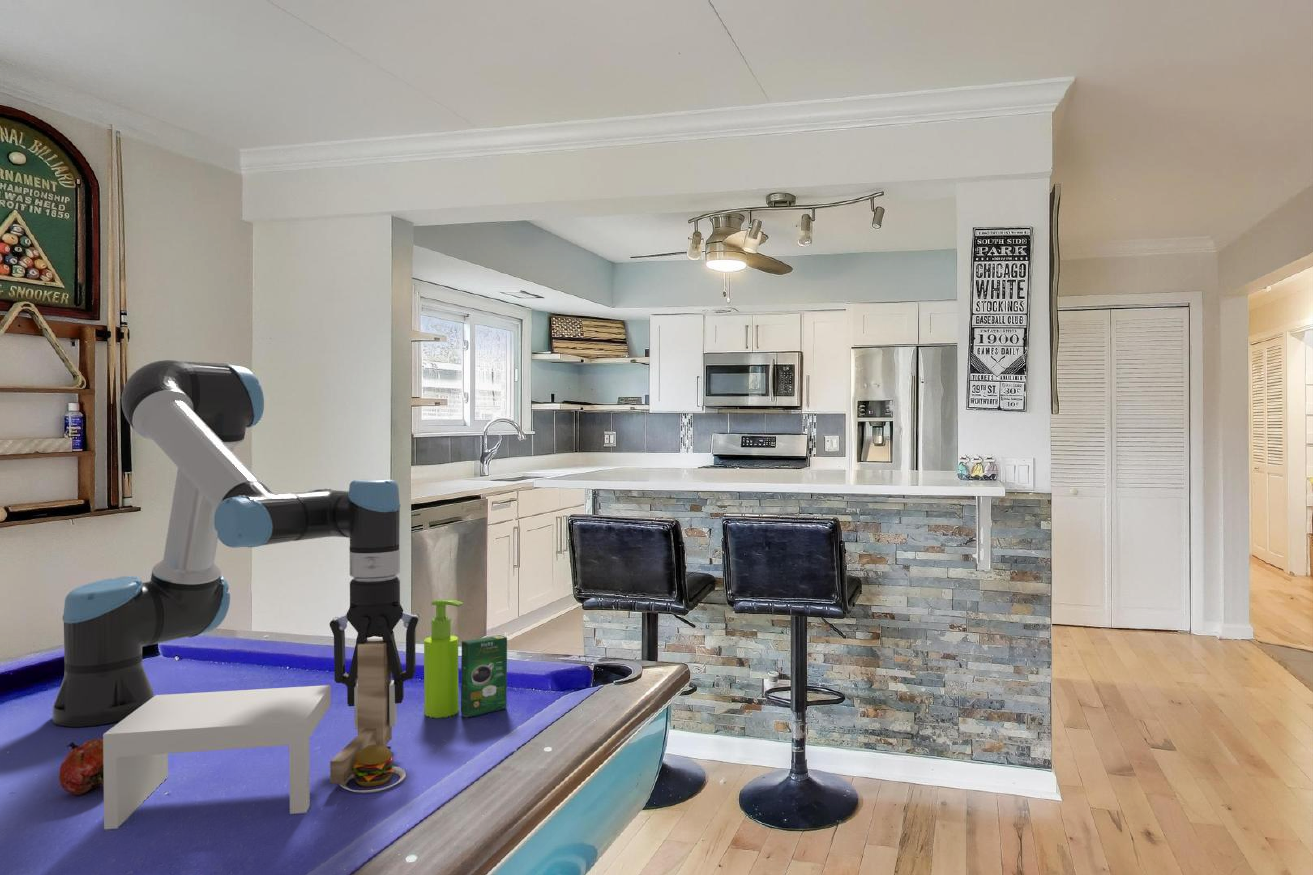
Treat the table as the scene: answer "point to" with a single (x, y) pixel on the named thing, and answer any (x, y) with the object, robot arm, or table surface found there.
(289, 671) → the table surface
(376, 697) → the block
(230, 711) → the shelf
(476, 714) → the coffee box
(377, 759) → the hamburger
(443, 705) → the soap dispenser
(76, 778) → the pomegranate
